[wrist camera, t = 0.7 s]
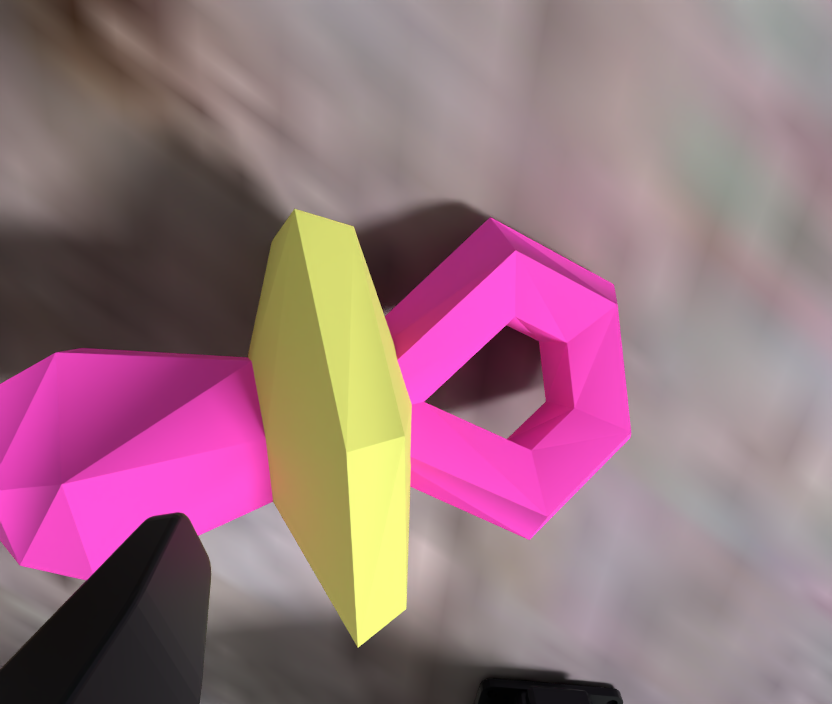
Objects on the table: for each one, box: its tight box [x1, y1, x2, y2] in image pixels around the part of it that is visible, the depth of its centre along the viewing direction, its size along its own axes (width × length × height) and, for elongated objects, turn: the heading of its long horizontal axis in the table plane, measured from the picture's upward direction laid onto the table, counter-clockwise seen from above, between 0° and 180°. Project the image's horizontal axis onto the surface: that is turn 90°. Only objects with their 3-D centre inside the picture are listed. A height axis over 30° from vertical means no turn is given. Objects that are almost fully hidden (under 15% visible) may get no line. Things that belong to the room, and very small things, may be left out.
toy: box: [0, 209, 631, 647], centre depth 18 cm, size 10×18×10 cm, turn 90°
